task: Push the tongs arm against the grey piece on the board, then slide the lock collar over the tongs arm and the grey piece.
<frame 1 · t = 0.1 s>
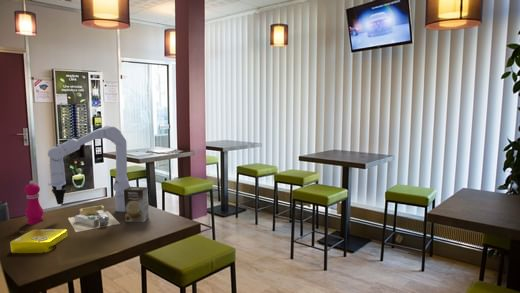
hand: (60, 202, 169), 10 cm above the table, fingers open, 7 cm apart
pepper mill: (35, 223, 171), on the table
board: (93, 223, 169), on the table
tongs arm: (86, 219, 164), point 3 cm above the table, hinge at 25.0°
element tile: (40, 246, 144), on the table
coffee box: (137, 222, 169), on the table
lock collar: (92, 211, 177), point 3 cm above the table, slide at 0.0 cm
grey piece: (103, 225, 162), resting on board
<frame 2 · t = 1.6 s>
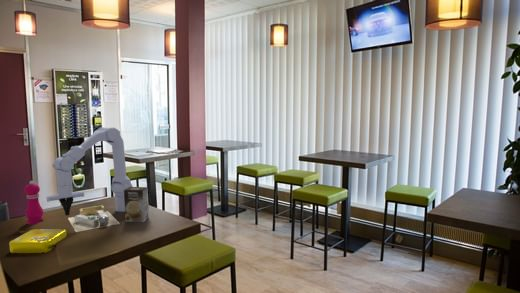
hand: (67, 214, 161), 6 cm above the table, fingers closed
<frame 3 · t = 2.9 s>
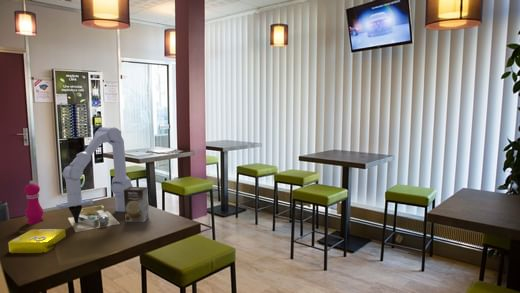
hand: (76, 222, 164), 2 cm above the table, fingers closed
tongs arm: (86, 219, 164), point 3 cm above the table, hinge at 24.9°, touching gripper
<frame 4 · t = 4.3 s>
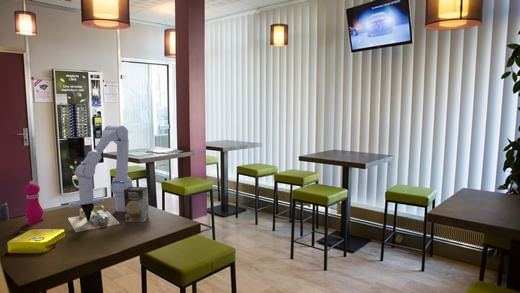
hand: (88, 220, 167), 2 cm above the table, fingers closed
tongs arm: (93, 217, 168), point 3 cm above the table, hinge at 1.8°, touching gripper
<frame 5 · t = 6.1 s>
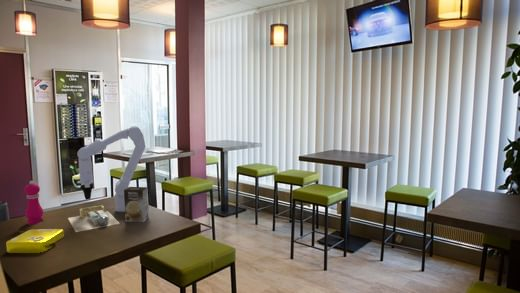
hand: (87, 199, 180), 8 cm above the table, fingers closed
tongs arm: (93, 217, 168), point 3 cm above the table, hinge at 1.8°
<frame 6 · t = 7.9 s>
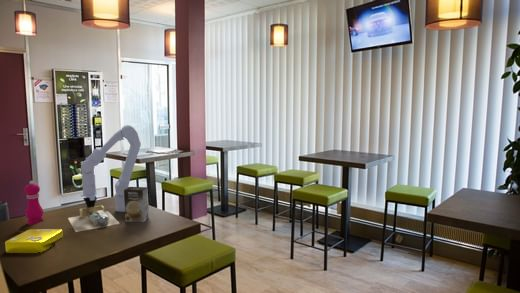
hand: (91, 211, 180), 2 cm above the table, fingers closed
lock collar: (92, 211, 177), point 3 cm above the table, slide at 0.1 cm, touching gripper
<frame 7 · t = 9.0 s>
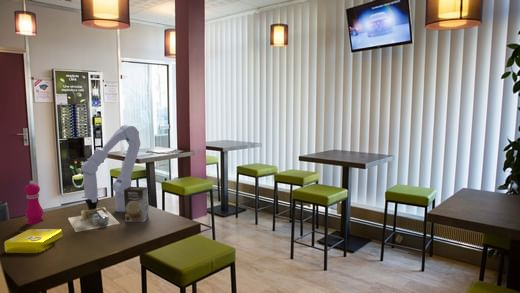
hand: (92, 213, 176), 2 cm above the table, fingers closed
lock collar: (94, 213, 173), point 3 cm above the table, slide at 4.4 cm, touching gripper
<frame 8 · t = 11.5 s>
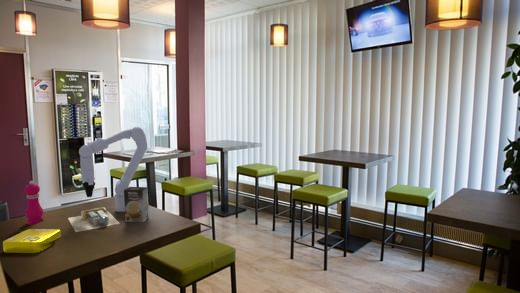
hand: (89, 196, 180), 9 cm above the table, fingers closed
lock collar: (94, 213, 173), point 3 cm above the table, slide at 4.4 cm
at the end: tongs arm at +2° (first picture: +25°); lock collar slide at 4.4 cm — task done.
